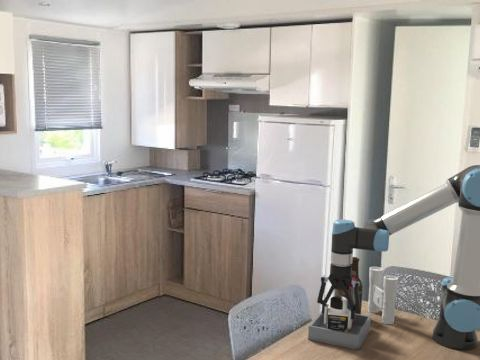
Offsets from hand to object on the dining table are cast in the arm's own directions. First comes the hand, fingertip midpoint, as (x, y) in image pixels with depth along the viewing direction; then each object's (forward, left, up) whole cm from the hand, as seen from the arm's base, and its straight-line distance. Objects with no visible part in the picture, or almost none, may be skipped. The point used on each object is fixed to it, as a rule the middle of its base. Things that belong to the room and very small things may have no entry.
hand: (337, 324), depth 196 cm
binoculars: (-10, -30, -5) cm, 32 cm away
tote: (0, -5, -5) cm, 7 cm away
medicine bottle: (0, 0, -2) cm, 2 cm away
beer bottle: (0, -24, -5) cm, 25 cm away
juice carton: (0, -9, -4) cm, 10 cm away
